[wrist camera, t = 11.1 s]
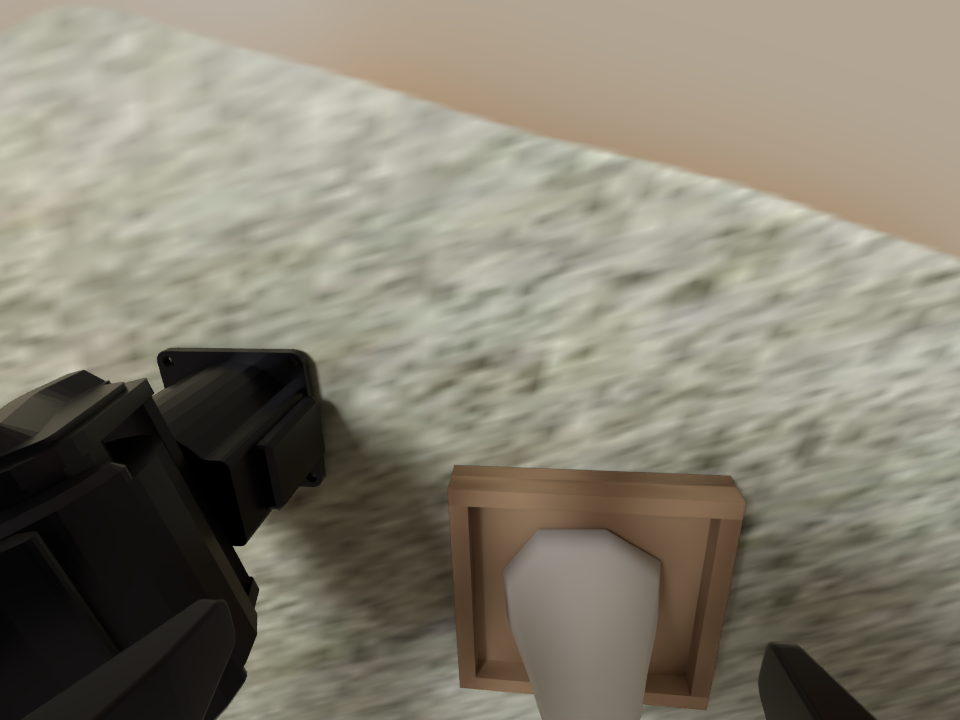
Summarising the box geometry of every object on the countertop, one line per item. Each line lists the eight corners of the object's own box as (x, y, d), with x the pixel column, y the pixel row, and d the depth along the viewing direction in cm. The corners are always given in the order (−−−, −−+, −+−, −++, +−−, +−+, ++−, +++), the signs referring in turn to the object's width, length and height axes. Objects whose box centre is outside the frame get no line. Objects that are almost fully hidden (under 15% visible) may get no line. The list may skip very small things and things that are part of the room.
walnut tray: (465, 655, 27) (459, 687, 25) (454, 465, 23) (447, 489, 21) (696, 674, 26) (706, 709, 24) (730, 475, 21) (745, 502, 20)
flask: (522, 503, 22) (507, 751, 13) (687, 546, 22) (791, 828, 13) (485, 622, 25) (450, 896, 16) (631, 661, 25) (682, 960, 16)
